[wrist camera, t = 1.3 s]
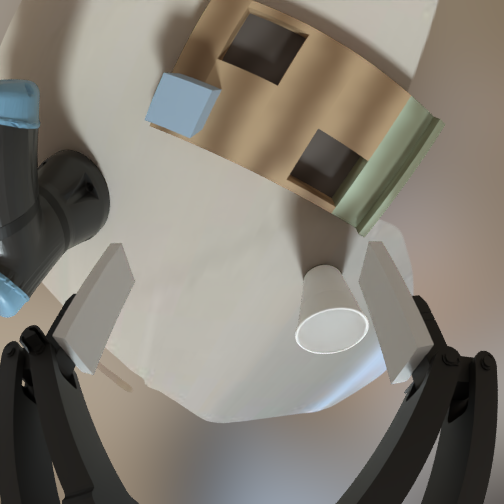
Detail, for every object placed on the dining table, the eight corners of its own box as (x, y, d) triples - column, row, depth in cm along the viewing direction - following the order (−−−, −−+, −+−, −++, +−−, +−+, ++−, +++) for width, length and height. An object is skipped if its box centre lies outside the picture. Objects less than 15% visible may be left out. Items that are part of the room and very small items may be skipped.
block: (163, 113, 26) (144, 119, 22) (180, 73, 24) (163, 72, 20) (202, 129, 27) (190, 138, 23) (221, 89, 25) (212, 90, 21)
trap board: (159, 121, 30) (144, 128, 26) (222, -4, 20) (215, -15, 16) (355, 220, 36) (364, 237, 32) (427, 117, 26) (445, 124, 23)
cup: (304, 246, 39) (312, 300, 30) (362, 261, 40) (383, 314, 31) (283, 294, 45) (284, 349, 36) (336, 305, 46) (347, 357, 37)
